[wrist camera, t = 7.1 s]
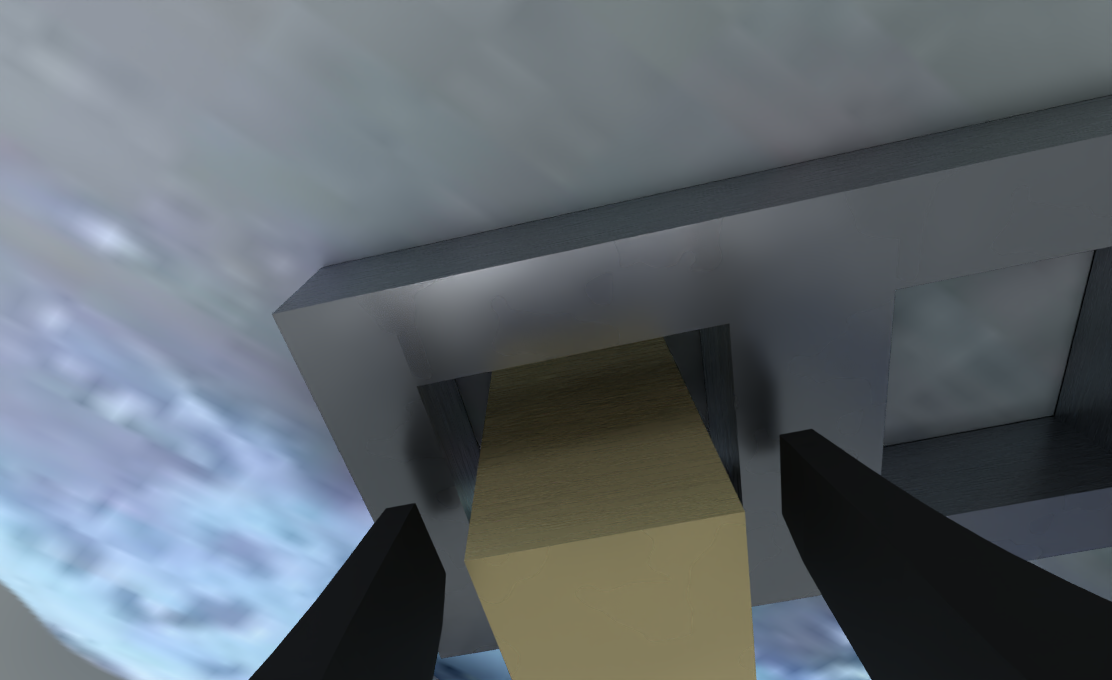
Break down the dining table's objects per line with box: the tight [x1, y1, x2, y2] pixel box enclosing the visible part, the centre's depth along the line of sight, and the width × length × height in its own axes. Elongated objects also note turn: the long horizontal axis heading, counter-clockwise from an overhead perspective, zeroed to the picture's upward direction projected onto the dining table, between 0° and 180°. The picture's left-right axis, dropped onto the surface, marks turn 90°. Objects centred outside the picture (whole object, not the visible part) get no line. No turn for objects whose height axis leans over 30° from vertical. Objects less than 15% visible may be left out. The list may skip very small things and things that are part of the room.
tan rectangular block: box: [464, 337, 756, 680], centre depth 11 cm, size 4×4×6 cm
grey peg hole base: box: [272, 95, 1112, 659], centre depth 12 cm, size 19×10×2 cm, turn 102°
